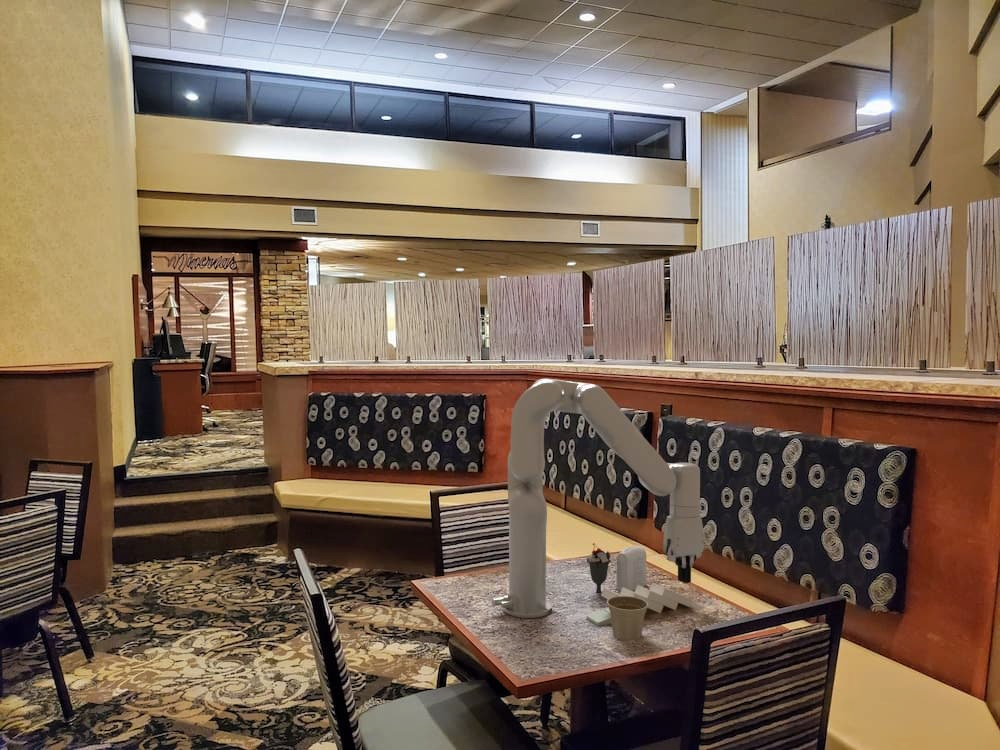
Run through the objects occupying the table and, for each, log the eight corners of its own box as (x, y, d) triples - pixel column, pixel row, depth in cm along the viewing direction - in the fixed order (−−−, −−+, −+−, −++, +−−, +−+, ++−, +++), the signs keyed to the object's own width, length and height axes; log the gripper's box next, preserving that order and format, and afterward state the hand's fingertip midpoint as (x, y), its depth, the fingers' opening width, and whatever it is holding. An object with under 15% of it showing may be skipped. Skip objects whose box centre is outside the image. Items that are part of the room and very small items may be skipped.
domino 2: (660, 613, 169) (631, 600, 165) (647, 606, 173) (619, 594, 169) (663, 605, 169) (634, 592, 165) (650, 599, 174) (622, 586, 170)
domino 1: (642, 614, 166) (612, 602, 162) (630, 608, 171) (600, 595, 167) (645, 606, 167) (616, 593, 163) (633, 600, 171) (604, 587, 167)
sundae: (584, 599, 182) (584, 544, 182) (589, 591, 188) (589, 538, 188) (608, 602, 180) (608, 546, 180) (613, 594, 186) (613, 540, 186)
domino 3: (675, 610, 171) (647, 598, 167) (662, 603, 175) (634, 592, 171) (678, 602, 171) (650, 590, 167) (665, 596, 176) (637, 584, 172)
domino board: (632, 627, 163) (632, 622, 163) (610, 615, 171) (610, 610, 171) (705, 612, 173) (705, 607, 173) (681, 601, 181) (681, 596, 181)
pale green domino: (632, 617, 165) (598, 630, 161) (620, 611, 170) (587, 623, 165) (631, 609, 165) (597, 622, 161) (619, 603, 169) (586, 615, 165)
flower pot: (623, 628, 162) (623, 592, 162) (656, 640, 155) (656, 603, 155) (598, 639, 156) (598, 602, 156) (631, 652, 149) (631, 613, 149)
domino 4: (689, 607, 173) (662, 595, 169) (676, 601, 177) (649, 589, 173) (692, 599, 173) (664, 587, 169) (679, 593, 178) (652, 582, 174)
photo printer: (635, 585, 194) (635, 542, 194) (648, 588, 191) (648, 545, 191) (614, 593, 187) (614, 549, 187) (626, 597, 184) (627, 552, 184)
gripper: (696, 505, 182) (696, 573, 182) (652, 510, 175) (651, 581, 175) (717, 511, 175) (716, 581, 175) (671, 516, 168) (671, 590, 169)
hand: (684, 581), depth 175 cm, fingers closed
